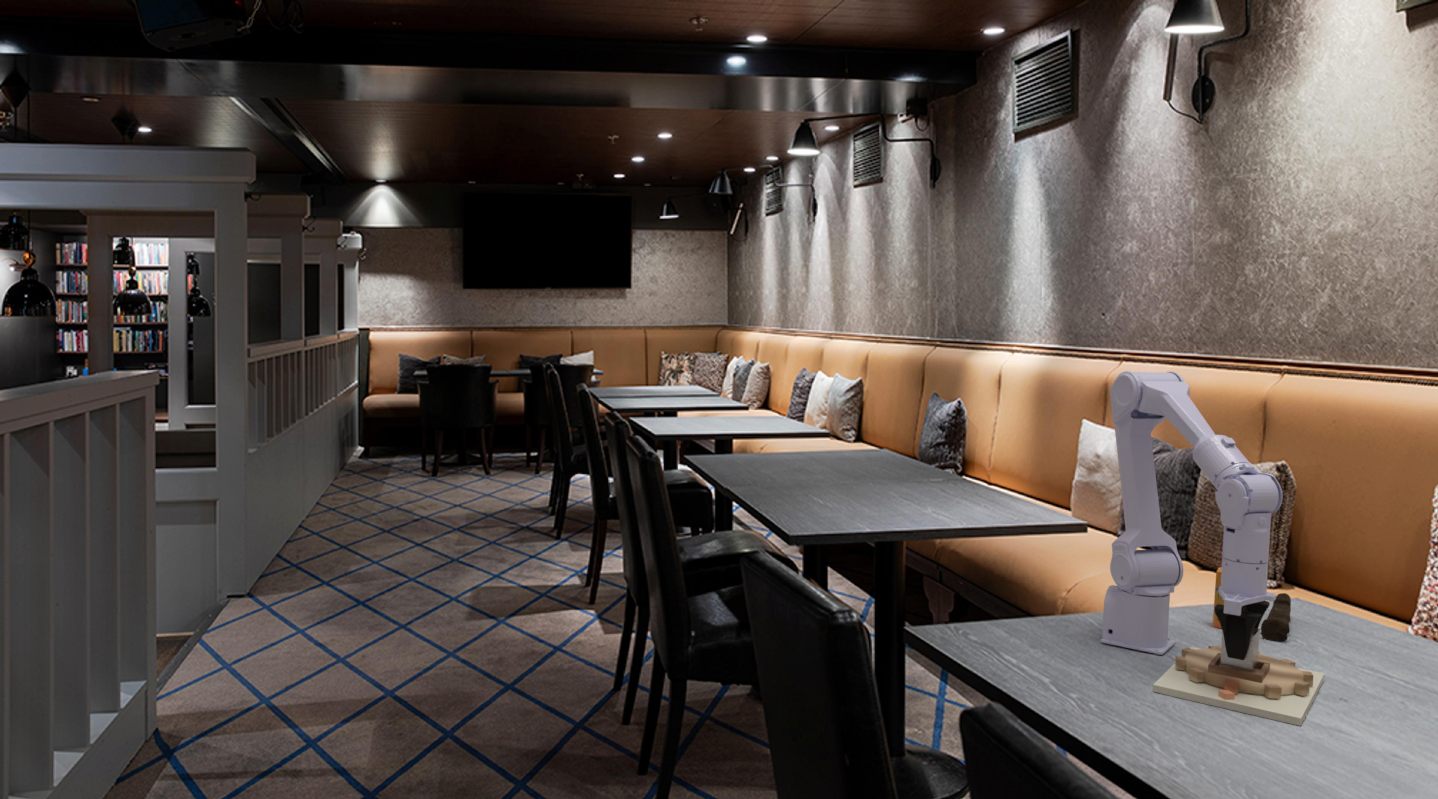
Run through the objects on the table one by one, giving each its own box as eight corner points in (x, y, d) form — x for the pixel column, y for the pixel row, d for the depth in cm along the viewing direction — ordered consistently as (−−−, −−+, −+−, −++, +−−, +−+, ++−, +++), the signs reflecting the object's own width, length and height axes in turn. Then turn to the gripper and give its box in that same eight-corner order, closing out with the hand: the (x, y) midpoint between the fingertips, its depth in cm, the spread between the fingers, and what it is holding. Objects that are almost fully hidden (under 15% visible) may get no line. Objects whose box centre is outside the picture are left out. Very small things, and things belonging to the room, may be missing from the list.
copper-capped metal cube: (1220, 664, 137) (1222, 627, 137) (1226, 657, 140) (1228, 621, 140) (1252, 671, 135) (1254, 633, 134) (1257, 663, 138) (1259, 626, 137)
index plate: (1152, 691, 136) (1153, 679, 136) (1190, 652, 153) (1191, 641, 153) (1300, 726, 125) (1301, 712, 125) (1324, 679, 142) (1325, 667, 142)
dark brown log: (1287, 645, 159) (1289, 617, 159) (1259, 640, 161) (1261, 612, 161) (1300, 619, 174) (1302, 594, 174) (1275, 615, 176) (1277, 589, 176)
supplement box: (1211, 627, 167) (1214, 570, 167) (1215, 622, 170) (1218, 566, 169) (1233, 631, 165) (1236, 573, 164) (1236, 626, 168) (1239, 569, 167)
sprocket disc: (1191, 648, 152) (1193, 616, 152) (1318, 673, 142) (1320, 639, 141) (1163, 678, 138) (1165, 643, 138) (1302, 708, 128) (1304, 671, 127)
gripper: (1267, 573, 128) (1261, 674, 129) (1286, 555, 139) (1280, 647, 140) (1209, 564, 133) (1204, 662, 133) (1231, 547, 144) (1226, 637, 145)
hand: (1239, 654), depth 137 cm, fingers closed on copper-capped metal cube, 4 cm apart
